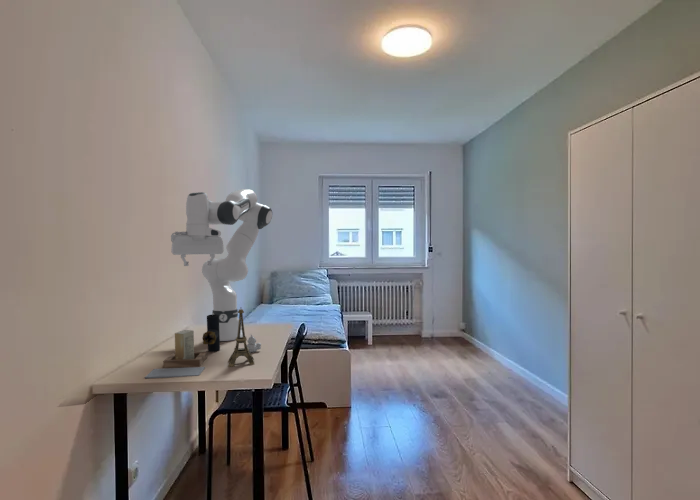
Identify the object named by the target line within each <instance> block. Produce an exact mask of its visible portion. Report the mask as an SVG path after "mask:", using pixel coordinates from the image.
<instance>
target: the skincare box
mask: <svg viewBox="0 0 700 500" xmlns="http://www.w3.org/2000/svg"><path fill="white" fill-rule="evenodd" d="M194 333H195V332H194V330H191V329H183V330H180V331H178V332H175V333H174V353H175V360H179V359H194V352H195V340H194V339H195V336H194V335H195V334H194Z"/></svg>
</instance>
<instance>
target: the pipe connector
mask: <svg viewBox="0 0 700 500" xmlns="http://www.w3.org/2000/svg"><path fill="white" fill-rule="evenodd" d="M220 342H221V341H220V333H219V315H217V314H208V315H206V332H203V334H202V344H203V345H207V351H208V352H211V353H215V352H218V351H220V350H221V343H220Z"/></svg>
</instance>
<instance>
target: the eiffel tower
mask: <svg viewBox="0 0 700 500" xmlns="http://www.w3.org/2000/svg"><path fill="white" fill-rule="evenodd" d="M244 313H245V311H244V309H243V308H240V309H238V319H239V325H238V335H237V337H236V340H235V341H236V342H235V347H234V349H233V352H232V353H231V355H230V357H229V358H228V360H227V363H228V366H227V367H228V368H234V367H236V365H235V363H236V361H237V358H238V359H239V357H245V358H246V360H247V361H248V365H249V366H252V365H255V361H254V360H255V358H254V356H253V355H252V353H250V352H249V349H248V347H247V340H248V339H247V336H246V335H245V334H246V333H245V326H244V315H243V314H244ZM241 328H242V330H241ZM240 330H241V331H242V335H243V337H240ZM240 344H243V346H244V347H240Z"/></svg>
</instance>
